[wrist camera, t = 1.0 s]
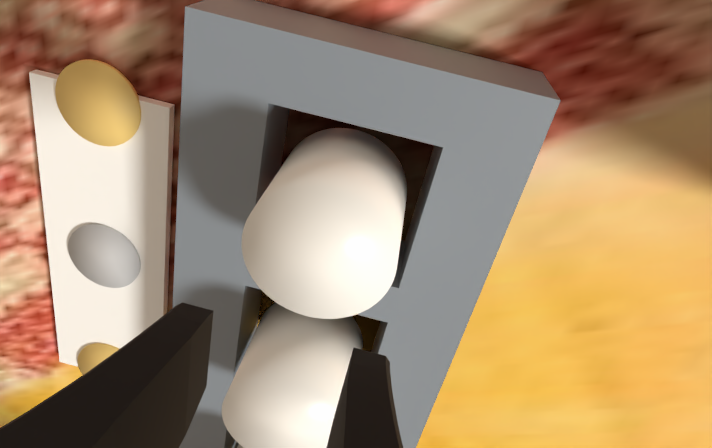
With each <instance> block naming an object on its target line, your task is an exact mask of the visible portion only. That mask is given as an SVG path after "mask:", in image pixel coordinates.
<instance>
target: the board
mask: <svg viewBox="0 0 712 448" xmlns="http://www.w3.org/2000/svg"><path fill="white" fill-rule="evenodd" d="M560 101H561V100H560V99H559V97H558V96H557V94H556V93H555V91H554V89H553V88H552V86H551V85H550V83H549V82H548V80H547V79H546V77H545V75H544V74H543V72H540V71H536V70H532V69H528V68H524V67H520V66H516V65H512V64H508V63H504V62H500V61H496V60H492V59H488V58H484V57H480V56H476V55H472V54H468V53H464V52H460V51H456V50H452V49H448V48H444V47H440V46H436V45H432V44H428V43H424V42H420V41H416V40H412V39H408V38H404V37H400V36H396V35H392V34H388V33H384V32H380V31H376V30H372V29H368V28H364V27H360V26H356V25H352V24H348V23H344V22H340V21H336V20H332V19H328V18H324V17H320V16H316V15H312V14H308V13H304V12H300V11H296V10H292V9H288V8H284V7H280V6H276V5H272V4H268V3H264V2H260V1H256V0H203V1H200V2H197V3H194V4H191V5H188V6H185V21H184V45H183V69H182V93H181V117H180V141H179V165H178V189H177V213H176V236H175V260H174V284H173V308H174V307H175V306H176V305H178V304H180V303H182V302H183V303H186V304H190V305H194V306H198V307H202V308H205V309H209V310H213V322H212V333H211V344H210V354H209V365H208V376H207V386H206V389H205V391H204V394H203V396H202V398H201V401H200V403H199V405H198V408H197V410H196V413H195V415H194V417H193V419H192V422H191V424H190V426H189V429H188V431H187V433H186V435H185V437H184V439H183V441H182V443H181V445H180V447H179V448H237V447H238V444H239V443H238V442H237V441H236V440H235V439H234V438H233V437H232V436H231V435H230V433H229V432H228V430H227V428H226V426H225V424H224V421H223V418H222V404H223V401H224V398H225V396H226V394H227V392H228V389H229V387H230V385H231V383H232V381H233V379H234V377H235V374H236V372H237V370H238V368H239V366H240V364H241V361H242V359H243V357H244V355H245V353H246V351H247V348H248V346H249V344H250V342H251V340H252V338H253V335H254V333H255V331H256V329H257V323H258V316H259V310H260V303H261V296H262V290H261V289H260V288H259V287H258V286H257V284H256V283H255V281H254V280H253V279H252V277H251V275H250V273H249V272H248V270H247V267H246V265H245V262H244V258H243V254H242V246H241V245H242V233H243V228H244V226H245V223H246V220H247V218H248V217H249V215H250V213H251V211H252V210H253V208H254V207H255V206H256V204H257V203H258V201H259V200H260V198H261V197H262V195H263V194H264V192H265V191H266V189H267V188H268V186H269V185H270V183H271V182H272V180H273V179H274V177H275V176H276V174H277V173H278V171H279V170H280V168H281V164H282V157H283V150H284V144H285V137H286V130H287V124H288V117H289V110H290V109H293V110H297V111H301V112H305V113H309V114H313V115H317V116H321V117H325V118H329V119H333V120H337V121H341V122H345V123H349V124H353V125H356V126H360V127H364V128H368V129H372V130H376V131H380V132H384V133H388V134H392V135H396V136H400V137H404V138H408V139H412V140H416V141H420V142H423V143H427V144H431V145H434V147H433V150H432V154H431V157H430V160H429V163H428V167H427V170H426V173H425V176H424V180H423V183H422V186H421V190H420V193H419V196H418V199H417V203H416V206H415V209H414V212H413V216H412V219H411V222H410V225H409V229H408V232H407V235H406V239H405V241H404V240H401V243H400V250H399V257H398V264H397V270H396V275H395V278H394V280H393V283H392V285H391V287H390V288H389V290H388V292H387V293H386V294H385V295H384V297H383V298H382V299H381V300H380V301H379V302H378V303H376V304H375V305H374V306H372V307H371V308H369V309H367V310H365V311H363V312H361V313H359V314H356V315H360V316H364V317H368V318H372V319H375V320H379V321H380V324H379V327H378V330H377V333H376V337H375V340H374V343H373V346H372V350H371V352H373V353H377V354H381V355H384V356H386V357H387V358H388V360H389V361H390V375H391V384H392V392H393V399H394V405H395V411H396V416H397V422H398V426H399V431H400V436H401V440H402V444H403V448H416V446H417V443H418V441H419V438H420V436H421V434H422V431H423V429H424V427H425V424H426V422H427V419H428V417H429V415H430V412H431V410H432V407H433V405H434V403H435V400H436V398H437V395H438V393H439V391H440V388H441V386H442V383H443V381H444V379H445V376H446V374H447V371H448V369H449V367H450V364H451V362H452V359H453V357H454V355H455V352H456V350H457V348H458V345H459V343H460V340H461V338H462V336H463V333H464V331H465V328H466V326H467V324H468V321H469V319H470V316H471V314H472V312H473V309H474V307H475V304H476V302H477V300H478V297H479V295H480V292H481V290H482V288H483V285H484V283H485V280H486V278H487V276H488V273H489V271H490V269H491V266H492V264H493V261H494V259H495V257H496V254H497V252H498V249H499V247H500V245H501V242H502V240H503V237H504V235H505V233H506V230H507V228H508V225H509V223H510V221H511V218H512V216H513V213H514V211H515V209H516V206H517V204H518V201H519V199H520V197H521V194H522V192H523V189H524V187H525V185H526V182H527V180H528V178H529V175H530V173H531V170H532V168H533V166H534V163H535V161H536V158H537V156H538V154H539V151H540V149H541V146H542V144H543V142H544V139H545V137H546V134H547V132H548V130H549V127H550V125H551V122H552V120H553V118H554V115H555V113H556V110H557V108H558V106H559V103H560Z"/></svg>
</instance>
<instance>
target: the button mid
mask: <svg viewBox="0 0 712 448" xmlns="http://www.w3.org/2000/svg"><path fill="white" fill-rule="evenodd" d="M353 348H358V349H363V337H362V333H361V330H360V328H359V326H358V324H357V323H356V321H355V320H354V318H353V317H352V316H349V317H345V318H338V319H321V318H313V317H308V316H304V315H301V314H298V313H295V312H293V311H291V310H288V309H286V308H285V307H283V306H281V305H279V304H278V303H276V302H275V303H274V304H272V305H271V306H270V307H269V308H268V309H267V310H266V311H265V313H264V314H263V316H262V318H261V320H260V323H259V325H258V327H257V329H256V331H255V333H254V335H253V338H252V340H251V342H250V344H249V346H248V348H247V351H246V353H245V355H244V357H243V359H242V361H241V364H240V366H239V368H238V370H237V372H236V374H235V377H234V379H233V381H232V383H231V385H230V387H229V389H228V392H227V394H226V396H225V398H224V401H223V404H222V418H223V421H224V424H225V426H226V428H227V430H228V432H229V433H230V435H231V436H232V437H233V438H234V439H235V440H236V441H237V442H238V443H239V444H240V445H241V446H242V447H244V448H327V444H328V440H329V436H330V431H331V427H332V423H333V419H334V415H335V412H336V408H337V405H338V401H339V398H340V394H341V390H342V387H343V383H344V380H345V376H346V373H347V369H348V366H349V362H350V358H351V355H352V351H353Z"/></svg>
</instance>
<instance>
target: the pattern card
mask: <svg viewBox="0 0 712 448" xmlns="http://www.w3.org/2000/svg"><path fill="white" fill-rule="evenodd" d="M29 77H30V87H31V96H32V105H33V115H34V124H35V134H36V143H37V153H38V162H39V171H40V181H41V190H42V200H43V209H44V219H45V228H46V237H47V247H48V256H49V266H50V275H51V285H52V294H53V304H54V313H55V322H56V332H57V341H58V351H59V360H60V362H63V363H66V364H70V365H74V366H78V367H79V369H80V371H81V373H82V374H83V375H84V374H85V373H87V372H88V371H90V370H91V369H92V368H94V367H95V366H97V365H98V364H99V363H101V362H102V361H104V360H105V359H106V358H108V357H109V356H111V355H112V354H113V353H115V352H116V351H118V350H119V349H120V348H122V347H123V346H124V345H126V344H127V343H128V342H130V341H131V340H132V339H134V338H135V337H136V336H138V335H139V334H140V333H142V332H143V331H144V330H146V329H147V328H148V327H149V326H151V325H152V324H153V323H155V322H156V321H157V320H158V319H160V318H161V317H162V316H164V315H165V314H166V313H167V306H168V278H169V249H170V221H171V193H172V165H173V137H174V108H175V104H171V103H167V102H163V101H159V100H155V99H151V98H147V97H143V96H139V95H137V92H136V90H135V89H134V87H133V85H132V84H131V83H130V81H129V80H128V79H127V78H126V77H125V76H124V75H123V74H122V73H121V72H120V71H118V70H117V69H116V68H114V67H113V66H111V65H109V64H107V63H105V62H102V61H98V60H92V59H85V60H80V61H76V62H74V63H72V64H69V65H68V66H67V67H65V68H64V69H63V70H62V71H61V73H60V74H59V75H57V74H53V73H49V72H45V71H41V70H37V69H36V70H33V71H31V72H29Z"/></svg>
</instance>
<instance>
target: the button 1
mask: <svg viewBox="0 0 712 448" xmlns="http://www.w3.org/2000/svg"><path fill="white" fill-rule="evenodd" d="M406 199H407V181H406V176H405V173H404V170H403V167H402V165H401V163H400V162H399V160H398V158H397V157H396V155H395V154H394V153H393V152H392V151H391V150H390V148H389V147H388V146H386V145H385V144H384V143H383V142H382V141H380V140H379V139H377V138H375V137H374V136H372V135H370V134H367V133H365V132H362V131H359V130H355V129H350V128H330V129H325V130H321V131H319V132H316V133H314V134H312V135H310V136H308V137H306V138H305V139H303V140H302V141H301V142H300V143H299V144H298V145H297V146H296V147H295V148H294V149H293V150H292V152H291V153H290V155H289V156H288V158H287V159H286V161H285V162H284V164H283V165H282V167H281V168H280V170H279V171H278V173H277V174H276V176H275V177H274V179H273V180H272V182H271V183H270V185H269V186H268V188H267V189H266V191H265V192H264V194H263V195H262V197H261V198H260V200H259V201H258V203H257V204H256V206H255V207H254V208H253V210H252V211H251V213H250V215H249V217H248V218H247V220H246V223H245V226H244V228H243V233H242V245H241V246H242V254H243V258H244V262H245V265H246V267H247V270H248V272H249V273H250V275H251V277H252V279H253V280H254V281H255V283H256V284H257V286H258V287H259V288H260V289H261V290H262V291H263V292H264V293H265V294H266V295H267V296H268V297H270V298H271V299H272V300H273V301H275V302H276V303H278V304H279V305H281V306H283V307H285V308H286V309H288V310H291V311H293V312H295V313H298V314H301V315H304V316H308V317H313V318H321V319H338V318H345V317H349V316H353V315H356V314H359V313H361V312H363V311H365V310H367V309H369V308H371V307H372V306H374V305H375V304H376V303H378V302H379V301H380V300H381V299H382V298H383V297H384V295H385V294H386V293H387V292H388V290H389V288H390V287H391V285H392V283H393V280H394V278H395V275H396V270H397V264H398V257H399V250H400V243H401V235H402V228H403V221H404V214H405V207H406Z"/></svg>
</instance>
